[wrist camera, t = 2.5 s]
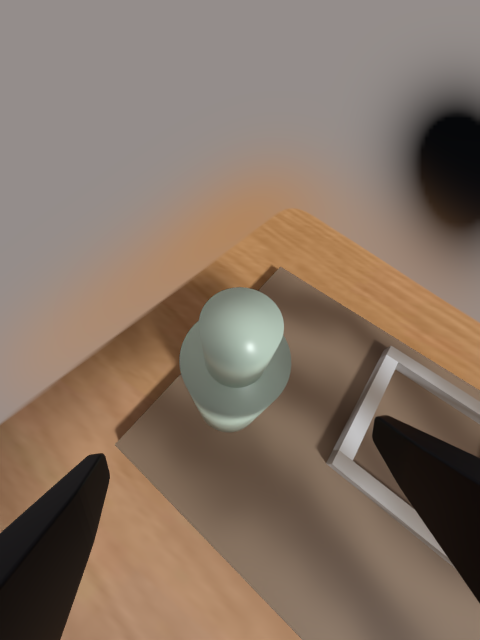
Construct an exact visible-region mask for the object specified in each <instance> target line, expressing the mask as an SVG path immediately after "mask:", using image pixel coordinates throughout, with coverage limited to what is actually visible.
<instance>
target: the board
mask: <svg viewBox="0 0 480 640" xmlns="http://www.w3.org/2000/svg"><path fill="white" fill-rule="evenodd" d="M258 291H259V292H261V293H263V294H265V295H266V296H268V297H269V298H270V299H271V300H272V301H273V302H274V303H275V304H276V305H277V307H278V308H279V310H280V312H281V314H282V317H283V321H284V332H283V335H284V337H285V339H286V341H287V343H288V346H289V349H290V354H291V372H290V376H289V379H288V382H287V384H286V386H285V388H284V390H283V391H282V393H281V394H280V395H279V397H278V398H277V399H276V400H275V401H274V402H272V403H271V404H270V405H269V406H268V407H267V408H266V409H265V410H264V411H263V412H262V413H261V414H260V415H259V416H258V417H257V418H256V419H254V420H253V421H252V422H251V423H250V424H249V425H248V426H247V427H245V428H244V429H242V430H239V431H236V432H221V431H218V430H216V429H214V428H212V427H211V426H209V425H208V424H207V423H206V422H205V420H204V419H203V418H202V416H201V414H200V412H199V410H198V408H197V406H196V404H195V402H194V401H193V399H192V397H191V395H190V393H189V391H188V389H187V387H186V385H185V383H184V381H183V378H182V375H181V374H180V375H179V376H178V377H177V378H176V379H175V381H174V382H173V383H172V384H171V385H170V386H169V387H168V388H167V389H166V390H165V391H164V392H163V393H162V394H161V396H160V397H159V398H158V399H157V400H156V401H155V402H154V403H153V404H152V405H151V406H150V407H149V408H148V410H147V411H146V412H145V413H144V414H143V415H142V416H141V417H140V418H139V419H138V420H137V421H136V422H135V423H134V425H133V426H132V427H131V428H130V429H129V430H128V431H127V432H126V433H125V434H124V435H123V436H122V437H121V439H120V440H119V441H118V442H117V443H116V444H115V446H116V447H117V448H118V449H119V450H120V451H121V452H122V453H123V454H124V455H125V456H126V457H127V458H128V459H129V460H130V461H131V462H132V463H133V464H134V465H135V466H136V467H137V468H138V470H139V471H140V472H141V473H142V474H143V475H144V476H145V477H146V478H147V479H148V480H149V481H150V482H151V483H152V484H153V485H154V486H155V487H156V488H157V489H158V490H159V491H160V492H161V493H162V494H163V496H164V497H165V498H166V499H167V500H168V501H169V502H170V503H171V504H172V505H173V506H174V507H175V508H176V509H177V510H178V511H179V512H180V513H181V514H182V515H183V516H184V517H185V518H186V519H187V520H188V521H189V523H190V524H191V525H192V526H193V527H194V528H195V529H196V530H197V531H198V532H199V533H200V534H201V535H202V536H203V537H204V538H205V539H206V540H207V541H208V542H209V543H210V544H211V545H212V546H213V547H214V548H215V550H216V551H217V552H218V553H219V554H220V555H221V556H222V557H223V558H224V559H225V560H226V561H227V562H228V563H229V564H230V565H231V566H232V567H233V568H234V569H235V570H236V571H237V572H238V573H239V574H240V575H241V577H242V578H243V579H244V580H245V581H246V582H247V583H248V584H249V585H250V586H251V587H252V588H253V589H254V590H255V591H256V592H257V593H258V594H259V595H260V596H261V597H262V598H263V599H264V600H265V601H266V602H267V604H268V605H269V606H270V607H271V608H272V609H273V610H274V611H275V612H276V613H277V614H278V615H279V616H280V617H281V618H282V619H283V620H284V621H285V622H286V623H287V624H288V625H289V626H290V627H291V628H292V630H293V631H294V632H295V633H296V634H297V635H298V636H299V637H300V638H301V639H302V640H480V603H479V602H478V600H477V599H476V598H475V596H474V595H473V593H472V592H471V590H470V589H469V587H468V586H467V585H466V583H465V582H464V580H463V579H462V577H461V576H460V574H459V573H458V571H457V570H456V569H455V567H454V566H453V564H452V563H451V561H450V560H449V558H448V557H447V556H446V554H445V553H444V551H443V550H442V548H441V547H440V545H439V544H438V542H437V541H436V540H435V538H434V537H433V535H432V534H431V532H430V531H429V529H428V528H427V527H426V525H425V524H424V522H423V521H422V519H421V518H420V516H419V515H418V513H417V512H416V511H415V509H414V508H413V506H412V505H411V503H410V502H409V500H408V499H407V498H406V496H405V495H404V493H403V492H402V490H401V489H400V487H399V485H398V484H397V482H396V480H395V479H394V477H393V475H392V474H391V472H390V470H389V468H388V467H387V465H386V463H385V461H384V460H383V458H382V456H381V454H380V453H379V451H378V449H377V447H376V446H375V444H374V442H373V439H372V431H373V425H374V419H375V417H377V416H382V415H389V416H391V417H393V418H395V419H397V420H399V421H402V422H404V423H406V424H408V425H410V426H412V427H415V428H417V429H419V430H421V431H423V432H425V433H427V434H430V435H432V436H434V437H436V438H438V439H440V440H442V441H445V442H447V443H449V444H451V445H453V446H455V447H458V448H460V449H462V450H464V451H466V452H468V453H470V454H473V455H475V456H477V457H479V458H480V390H478V389H476V388H475V387H473V386H472V385H470V384H468V383H467V382H465V381H464V380H462V379H460V378H459V377H457V376H455V375H454V374H452V373H451V372H449V371H447V370H446V369H444V368H443V367H441V366H439V365H438V364H436V363H435V362H433V361H431V360H430V359H428V358H427V357H425V356H423V355H422V354H420V353H418V352H417V351H415V350H414V349H412V348H410V347H409V346H407V345H406V344H404V343H402V342H401V341H399V340H398V339H396V338H394V337H393V336H391V335H390V334H388V333H386V332H385V331H383V330H381V329H380V328H378V327H377V326H375V325H373V324H372V323H370V322H369V321H367V320H365V319H364V318H362V317H361V316H359V315H357V314H356V313H354V312H353V311H351V310H349V309H348V308H346V307H344V306H343V305H341V304H340V303H338V302H336V301H335V300H333V299H332V298H330V297H328V296H327V295H325V294H324V293H322V292H320V291H319V290H317V289H316V288H314V287H312V286H311V285H309V284H307V283H306V282H304V281H303V280H301V279H299V278H298V277H296V276H295V275H293V274H291V273H290V272H288V271H287V270H285V269H283V268H282V267H280V268H279V269H278V270H277V271H276V272H275V273H274V274H273V275H272V276H271V277H270V278H269V279H268V281H267V282H266V283H265V284H264V285H263V286H262V287H261V288H260V289H259V290H258Z"/></svg>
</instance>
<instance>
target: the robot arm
mask: <svg viewBox="0 0 480 640" xmlns="http://www.w3.org/2000/svg"><path fill="white" fill-rule="evenodd" d="M372 439H373V442H374V444H375V446H376V447H377V449H378V451H379V453H380V454H381V456H382V458H383V460H384V461H385V463H386V465H387V467H388V468H389V470H390V472H391V474H392V475H393V477H394V479H395V480H396V482H397V484H398V485H399V487H400V489H401V490H402V492H403V493H404V495H405V496H406V498H407V499H408V500H409V502H410V503H411V505H412V506H413V508H414V509H415V511H416V512H417V513H418V515H419V516H420V518H421V519H422V521H423V522H424V524H425V525H426V527H427V528H428V529H429V531H430V532H431V534H432V535H433V537H434V538H435V540H436V541H437V542H438V544H439V545H440V547H441V548H442V550H443V551H444V553H445V554H446V556H447V557H448V558H449V560H450V561H451V563H452V564H453V566H454V567H455V569H456V570H457V571H458V573H459V574H460V576H461V577H462V579H463V580H464V582H465V583H466V585H467V586H468V587H469V589H470V590H471V592H472V593H473V595H474V596H475V598H476V599H477V600H478V602H479V603H480V458H479V457H477V456H475V455H473V454H470V453H468V452H466V451H464V450H462V449H460V448H458V447H455V446H453V445H451V444H449V443H447V442H445V441H442V440H440V439H438V438H436V437H434V436H432V435H430V434H427V433H425V432H423V431H421V430H419V429H417V428H415V427H412V426H410V425H408V424H406V423H404V422H402V421H399V420H397V419H395V418H393V417H391V416H389V415H382V416H377V417H375V419H374V425H373V431H372ZM109 479H110V473H109V469H108V465H107V461H106V457H105V455H104V454H103V453H99V454H91V455H89V456H87V457H86V458H85V459H83V460H82V461H81V462H80V463H79V464H78V465H77V466H76V467H74V468H73V469H72V470H71V471H70V472H69V473H68V474H67V475H65V476H64V477H63V478H62V479H61V480H60V481H59V482H58V483H56V484H55V485H54V486H53V487H52V488H51V489H50V490H48V491H47V492H46V493H45V494H44V495H43V496H42V497H41V498H39V499H38V500H37V501H36V502H35V503H34V504H33V505H32V506H30V507H29V508H28V509H27V510H26V511H25V512H24V513H23V514H21V515H20V516H19V517H18V518H17V519H16V520H15V521H13V522H12V523H11V524H10V525H9V526H8V527H7V528H6V529H4V530H3V531H2V532H1V533H0V640H60V639H61V636H62V633H63V631H64V628H65V625H66V622H67V619H68V616H69V613H70V610H71V607H72V604H73V602H74V599H75V596H76V593H77V590H78V587H79V584H80V581H81V578H82V576H83V573H84V570H85V567H86V564H87V561H88V558H89V555H90V552H91V549H92V546H93V543H94V540H95V536H96V532H97V529H98V525H99V521H100V517H101V512H102V508H103V504H104V500H105V496H106V492H107V488H108V484H109Z"/></svg>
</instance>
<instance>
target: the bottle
mask: <svg viewBox="0 0 480 640" xmlns="http://www.w3.org/2000/svg"><path fill="white" fill-rule="evenodd" d="M283 332H284V321H283V317H282V314H281V312H280V310H279V308H278V307H277V305H276V304H275V303H274V302H273V301H272V300H271V299H270V298H269V297H268V296H266V295H265V294H263V293H261V292H259V291H257V290H254V289H250V288H243V287H237V288H230V289H226V290H223V291H221V292H219V293H217V294H215V295H214V296H213V297H211V298H210V299H209V300H208V301H207V302H206V304H205V305H204V307H203V309H202V311H201V314H200V318H199V321H198V322H197V323H196V324H195V325H194V326H193V327H192V328H191V329H190V330H189V332H188V333H187V335H186V337H185V339H184V341H183V344H182V347H181V351H180V360H179V362H180V371H181V375H182V378H183V381H184V383H185V385H186V387H187V389H188V391H189V393H190V395H191V397H192V399H193V401H194V402H195V404H196V406H197V408H198V410H199V412H200V414H201V416H202V418H203V419H204V420H205V422H206V423H207V424H208V425H209V426H211V427H212V428H214V429H216V430H218V431H221V432H236V431H239V430H242V429H244V428H245V427H247V426H248V425H249V424H250V423H251V422H252V421H253V420H254V419H256V418H257V417H258V416H259V415H260V414H261V413H262V412H263V411H264V410H265V409H266V408H267V407H268V406H269V405H270V404H271V403H272V402H274V401H275V400H276V399H277V398H278V397H279V395H280V394H281V393H282V391H283V390H284V388H285V386H286V384H287V382H288V379H289V376H290V372H291V354H290V349H289V346H288V343H287V341H286V339H285V337H284V335H283Z"/></svg>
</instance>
